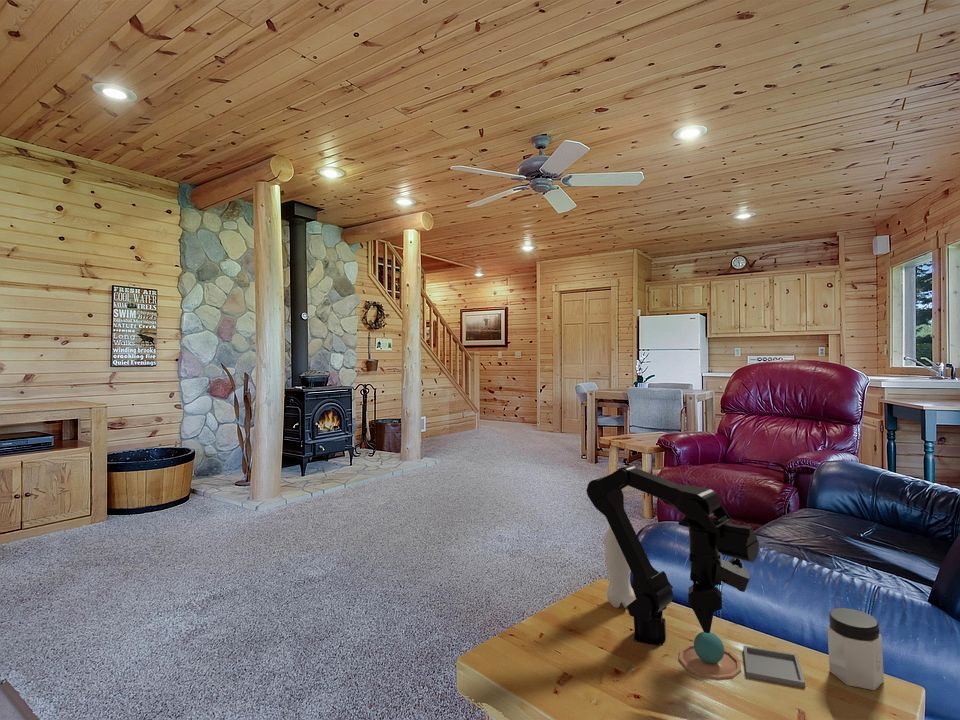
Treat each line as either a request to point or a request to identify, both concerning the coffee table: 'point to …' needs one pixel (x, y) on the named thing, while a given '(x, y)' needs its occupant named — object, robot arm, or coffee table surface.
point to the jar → (855, 648)
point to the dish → (719, 670)
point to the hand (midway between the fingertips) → (707, 621)
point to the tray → (773, 666)
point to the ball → (709, 647)
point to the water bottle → (617, 573)
